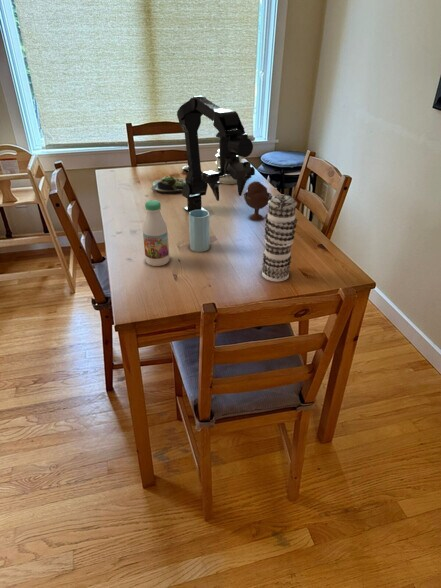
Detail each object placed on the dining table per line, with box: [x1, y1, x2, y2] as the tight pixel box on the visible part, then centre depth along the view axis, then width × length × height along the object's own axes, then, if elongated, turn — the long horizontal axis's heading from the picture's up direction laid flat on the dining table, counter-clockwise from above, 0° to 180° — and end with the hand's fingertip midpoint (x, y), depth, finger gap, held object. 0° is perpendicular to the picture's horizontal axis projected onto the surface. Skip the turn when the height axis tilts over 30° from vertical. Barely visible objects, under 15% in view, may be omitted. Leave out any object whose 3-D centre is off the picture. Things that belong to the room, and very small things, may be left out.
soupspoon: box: [181, 165, 189, 171], centre depth 205 cm, size 22×3×7 cm
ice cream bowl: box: [242, 180, 273, 222], centre depth 158 cm, size 11×11×15 cm
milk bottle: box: [142, 199, 170, 267], centre depth 127 cm, size 8×8×20 cm
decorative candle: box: [261, 193, 298, 283], centre depth 120 cm, size 9×9×25 cm
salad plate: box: [150, 175, 186, 195], centre depth 190 cm, size 19×18×5 cm
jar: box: [215, 148, 243, 185], centre depth 195 cm, size 13×13×18 cm
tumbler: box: [188, 209, 211, 253], centre depth 138 cm, size 7×7×12 cm
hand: (228, 198), depth 144 cm, fingers open, 9 cm apart
